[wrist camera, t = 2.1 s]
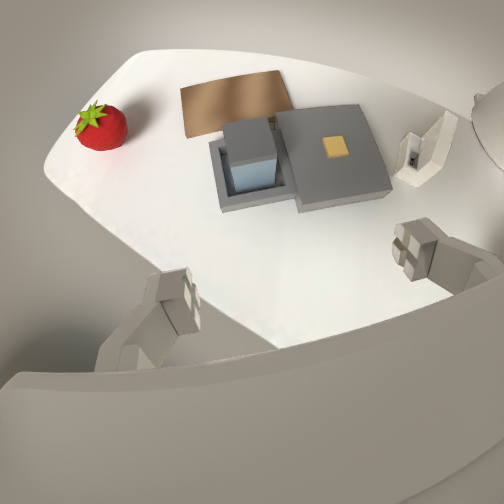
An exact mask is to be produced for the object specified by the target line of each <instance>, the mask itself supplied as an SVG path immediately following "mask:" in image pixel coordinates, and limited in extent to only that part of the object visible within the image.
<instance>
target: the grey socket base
mask: <svg viewBox="0 0 504 504" xmlns="http://www.w3.org/2000/svg"><path fill="white" fill-rule="evenodd" d="M271 133H272V137H273V140H274V144H275V147H276V151H277V165H278V169H279V173H280V177H281V181H282V184H283V186H281V187H276V188H271V189H266V190H261V191H256V192H251V193H246V194H241V195H236V196H231V197H228V192H227V186H226V181H225V176H224V171H223V166H222V160H221V155H223V154H227V149H226V144H225V139H221V140H216V141H212V142H209V147H210V153H211V159H212V165H213V170H214V176H215V182H216V187H217V193H218V198H219V204H220V208H221V210H222V213H225V212H230V211H235V210H239V209H244V208H249V207H254V206H259V205H264V204H269V203H274V202H279V201H284V200H289V199H295V201H296V205H297V208H298V212H299V213H302V212H308V211H313V210H318V209H323V208H329V207H334V206H340V205H345V204H351V203H356V202H362V201H368V200H374V199H379V198H384V197H385V196H386V195H387V194H388V193H389V192H391V191H392V190H393V188H392V185H391V182H390V179H389V176H388V174H387V171H386V168H385V165H384V163H383V160H382V157H381V155H380V152H379V150H378V147H377V145H376V142H375V140H374V137H373V135H372V133H371V130H370V128H369V126H368V123H367V121H366V119H365V117H364V115H363V112H362V110H361V108H360V106H359V105H341V106H328V107H317V108H307V109H298V110H290V111H283V112H276V113H275V129H274V130H271Z"/></svg>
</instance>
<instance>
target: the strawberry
mask: <svg viewBox="0 0 504 504" xmlns="http://www.w3.org/2000/svg"><path fill="white" fill-rule="evenodd" d="M97 101H98V100H97ZM97 101H96V102H95V103H94V105H93V106H91V104H90V106H89V108H88V110H87V111H86V112H85V111H83V112H78V114H79V115H80V116H81V117H80V118H79V120H78V122H77V125H76V127H75V128H74V129H73V130H75V133H76V135H75V137H76V136H77V138H78V140H79V141H80V143H81V144H82V145H84V146H85V147H88V148H91V149H93V150H97V151H106V150H112V149H115V148H118V147H120V146H121V144H122V143H123V141H124V139H125V136H126V134H127V124H126V119H125V117H124V115H123V113H122V112H120V111H119V110H118V109H116V108H115V107H113V106H109V105H106V104H105V105H101V106H96V104H97Z"/></svg>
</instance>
